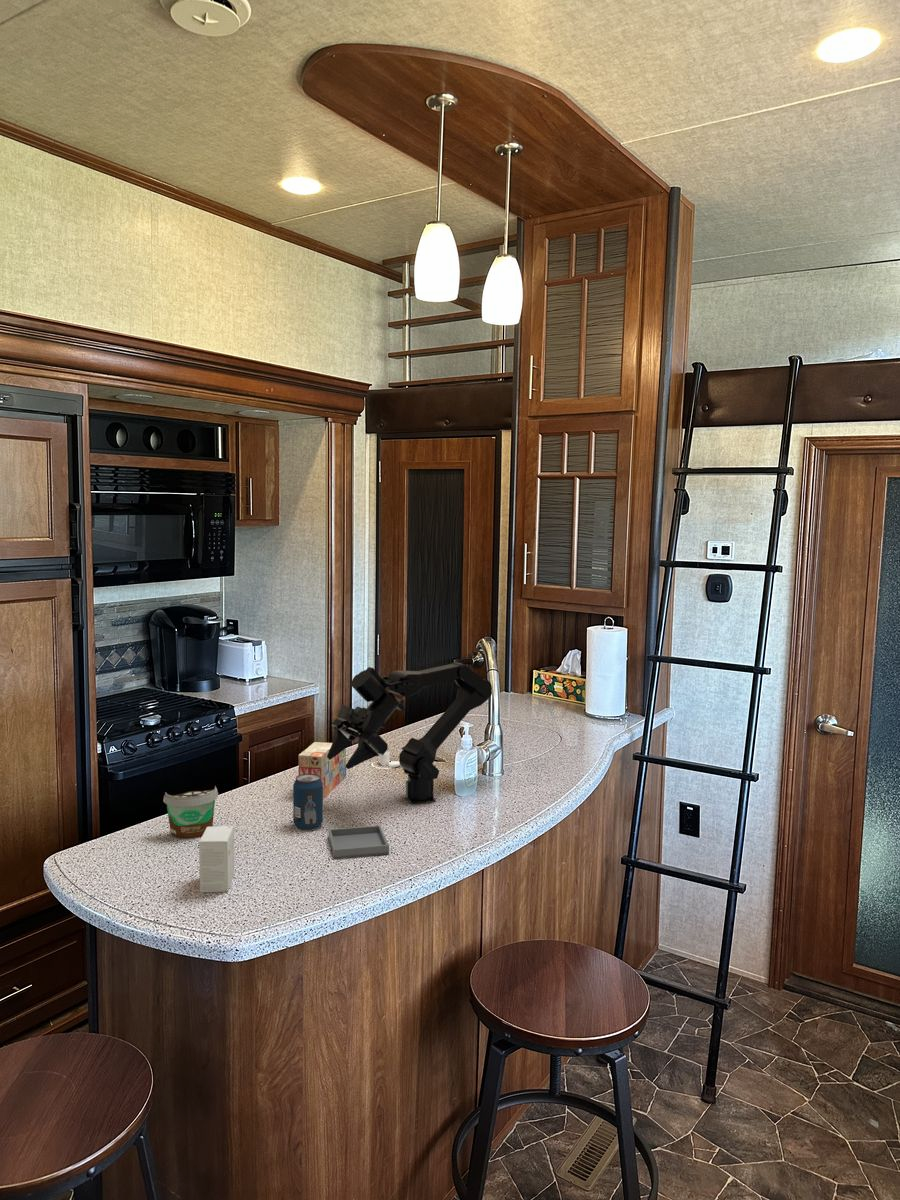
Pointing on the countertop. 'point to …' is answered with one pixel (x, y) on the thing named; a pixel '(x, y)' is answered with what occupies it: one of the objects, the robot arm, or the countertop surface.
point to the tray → (358, 842)
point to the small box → (216, 859)
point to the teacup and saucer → (386, 761)
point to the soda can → (308, 802)
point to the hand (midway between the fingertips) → (337, 763)
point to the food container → (190, 812)
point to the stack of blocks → (323, 765)
